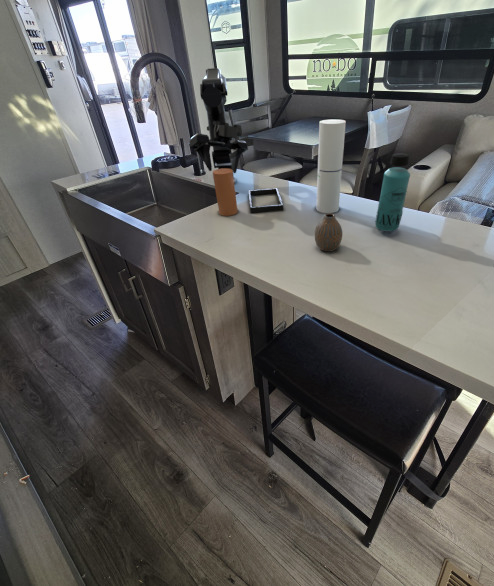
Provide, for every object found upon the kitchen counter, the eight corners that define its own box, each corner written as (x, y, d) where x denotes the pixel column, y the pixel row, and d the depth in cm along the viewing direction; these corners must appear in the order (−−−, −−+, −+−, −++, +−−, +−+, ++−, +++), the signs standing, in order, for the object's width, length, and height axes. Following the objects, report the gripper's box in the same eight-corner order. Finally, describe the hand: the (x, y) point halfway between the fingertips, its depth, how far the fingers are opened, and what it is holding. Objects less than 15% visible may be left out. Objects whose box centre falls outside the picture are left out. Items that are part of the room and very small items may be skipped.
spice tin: (223, 208, 104) (217, 167, 96) (240, 209, 103) (235, 168, 95) (216, 215, 100) (209, 173, 92) (233, 216, 98) (227, 174, 90)
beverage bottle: (369, 229, 87) (380, 153, 75) (387, 224, 89) (401, 149, 77) (384, 238, 83) (399, 159, 70) (403, 233, 85) (421, 155, 73)
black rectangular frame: (248, 195, 113) (248, 190, 112) (277, 193, 114) (277, 188, 113) (250, 213, 100) (250, 207, 99) (283, 210, 101) (283, 205, 100)
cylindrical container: (328, 215, 96) (333, 124, 81) (311, 209, 101) (314, 122, 86) (343, 208, 100) (351, 120, 85) (326, 203, 104) (331, 118, 89)
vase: (325, 238, 84) (327, 207, 79) (346, 246, 80) (349, 214, 75) (308, 248, 80) (309, 216, 75) (329, 257, 76) (332, 223, 71)
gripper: (201, 105, 88) (208, 162, 91) (254, 117, 100) (260, 167, 102) (185, 120, 97) (192, 172, 99) (236, 130, 109) (241, 176, 111)
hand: (223, 171), depth 103 cm, fingers open, 9 cm apart
